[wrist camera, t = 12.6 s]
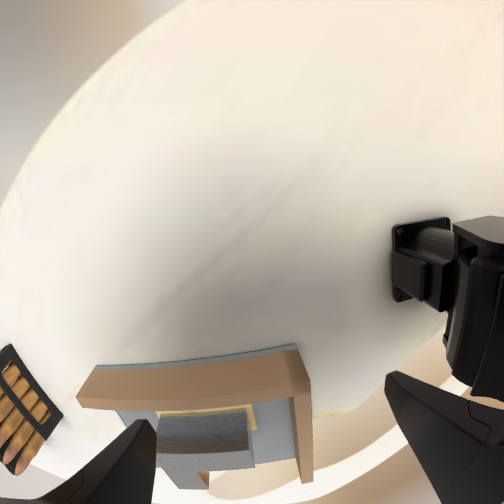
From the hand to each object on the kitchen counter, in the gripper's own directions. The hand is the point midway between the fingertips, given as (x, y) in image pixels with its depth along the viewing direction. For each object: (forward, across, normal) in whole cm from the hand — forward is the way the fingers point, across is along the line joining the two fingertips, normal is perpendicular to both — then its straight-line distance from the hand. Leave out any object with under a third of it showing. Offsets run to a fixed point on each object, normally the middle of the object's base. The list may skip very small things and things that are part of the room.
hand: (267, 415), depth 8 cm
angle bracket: (+11, +7, +14) cm, 19 cm away
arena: (+12, +7, +13) cm, 18 cm away
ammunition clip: (+12, +28, +7) cm, 31 cm away
